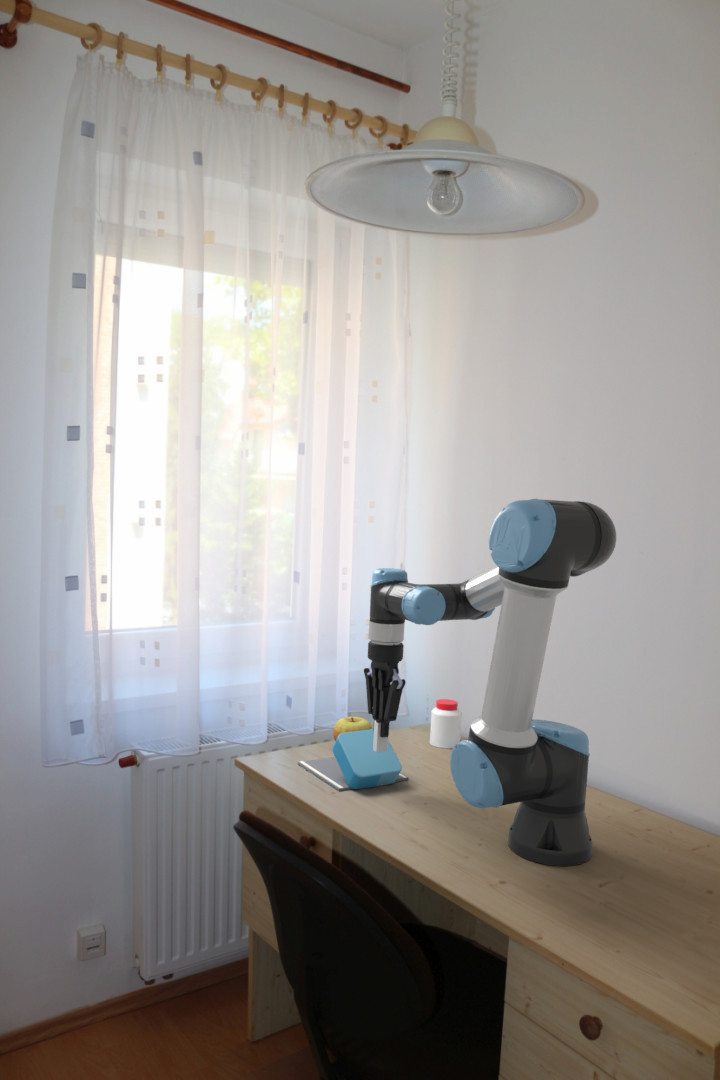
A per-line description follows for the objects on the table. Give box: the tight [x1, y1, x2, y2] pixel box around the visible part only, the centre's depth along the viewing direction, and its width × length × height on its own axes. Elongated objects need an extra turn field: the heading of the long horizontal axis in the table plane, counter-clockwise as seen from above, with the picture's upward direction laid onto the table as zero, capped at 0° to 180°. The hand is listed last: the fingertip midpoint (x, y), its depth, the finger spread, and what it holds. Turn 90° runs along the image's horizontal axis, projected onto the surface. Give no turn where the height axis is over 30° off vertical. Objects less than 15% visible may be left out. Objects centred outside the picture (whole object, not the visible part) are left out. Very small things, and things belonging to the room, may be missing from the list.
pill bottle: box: [429, 698, 462, 750], centre depth 220 cm, size 8×8×11 cm
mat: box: [297, 756, 409, 792], centre depth 196 cm, size 19×18×1 cm
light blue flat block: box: [331, 728, 403, 790], centre depth 189 cm, size 12×4×12 cm
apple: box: [332, 716, 374, 743], centre depth 213 cm, size 10×10×8 cm
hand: (380, 750), depth 184 cm, fingers closed
